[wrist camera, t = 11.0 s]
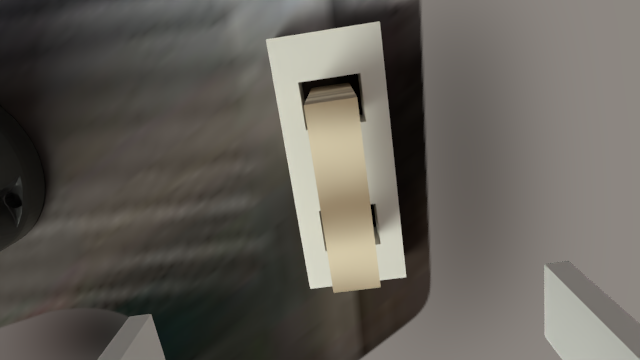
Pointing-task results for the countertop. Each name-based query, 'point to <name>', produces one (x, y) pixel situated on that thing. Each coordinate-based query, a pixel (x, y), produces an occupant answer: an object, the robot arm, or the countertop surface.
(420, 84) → the countertop surface
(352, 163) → the clip
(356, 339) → the countertop surface
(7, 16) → the countertop surface
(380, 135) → the white flat block
